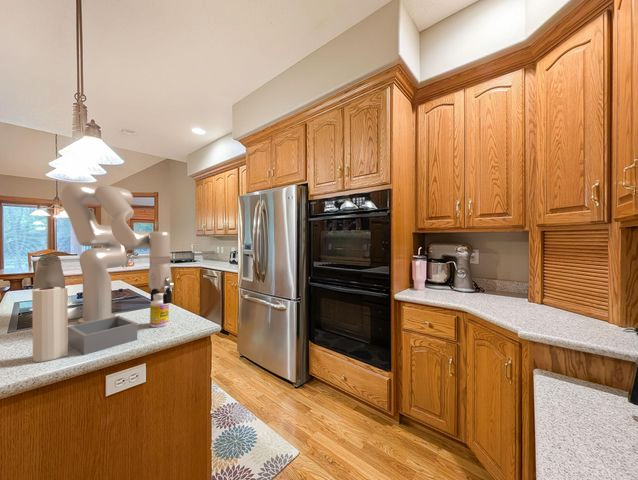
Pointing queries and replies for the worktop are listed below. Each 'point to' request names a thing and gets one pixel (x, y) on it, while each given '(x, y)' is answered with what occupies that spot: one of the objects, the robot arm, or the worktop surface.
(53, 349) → the paper towel roll
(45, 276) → the grey rounded cylinder
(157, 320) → the supplement bottle
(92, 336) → the walled box
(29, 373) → the worktop surface
